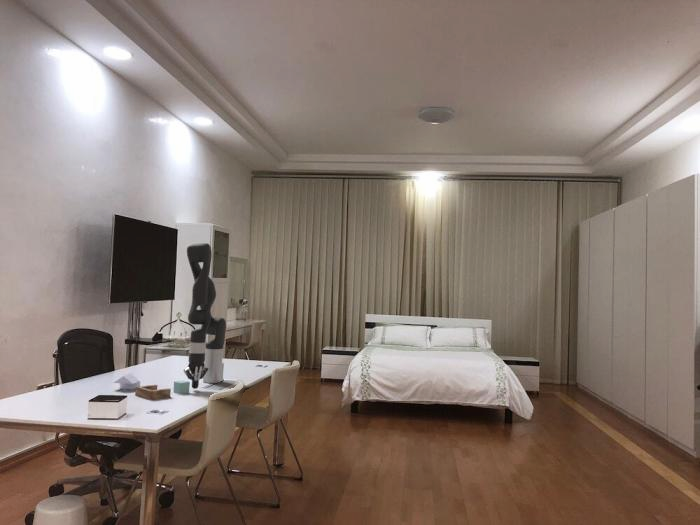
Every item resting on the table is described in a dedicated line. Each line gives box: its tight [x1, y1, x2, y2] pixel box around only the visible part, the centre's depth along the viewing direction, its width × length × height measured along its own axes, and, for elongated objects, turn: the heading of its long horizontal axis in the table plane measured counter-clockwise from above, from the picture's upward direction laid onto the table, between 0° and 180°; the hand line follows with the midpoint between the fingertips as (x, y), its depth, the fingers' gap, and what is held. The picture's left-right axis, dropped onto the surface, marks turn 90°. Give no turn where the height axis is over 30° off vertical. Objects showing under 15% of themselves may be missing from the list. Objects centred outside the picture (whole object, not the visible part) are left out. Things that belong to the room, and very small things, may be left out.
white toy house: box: [113, 372, 141, 390], centre depth 262 cm, size 9×7×13 cm
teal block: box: [173, 380, 191, 395], centre depth 259 cm, size 5×5×5 cm
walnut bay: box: [134, 384, 172, 401], centre depth 248 cm, size 10×12×4 cm
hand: (194, 388), depth 265 cm, fingers closed
